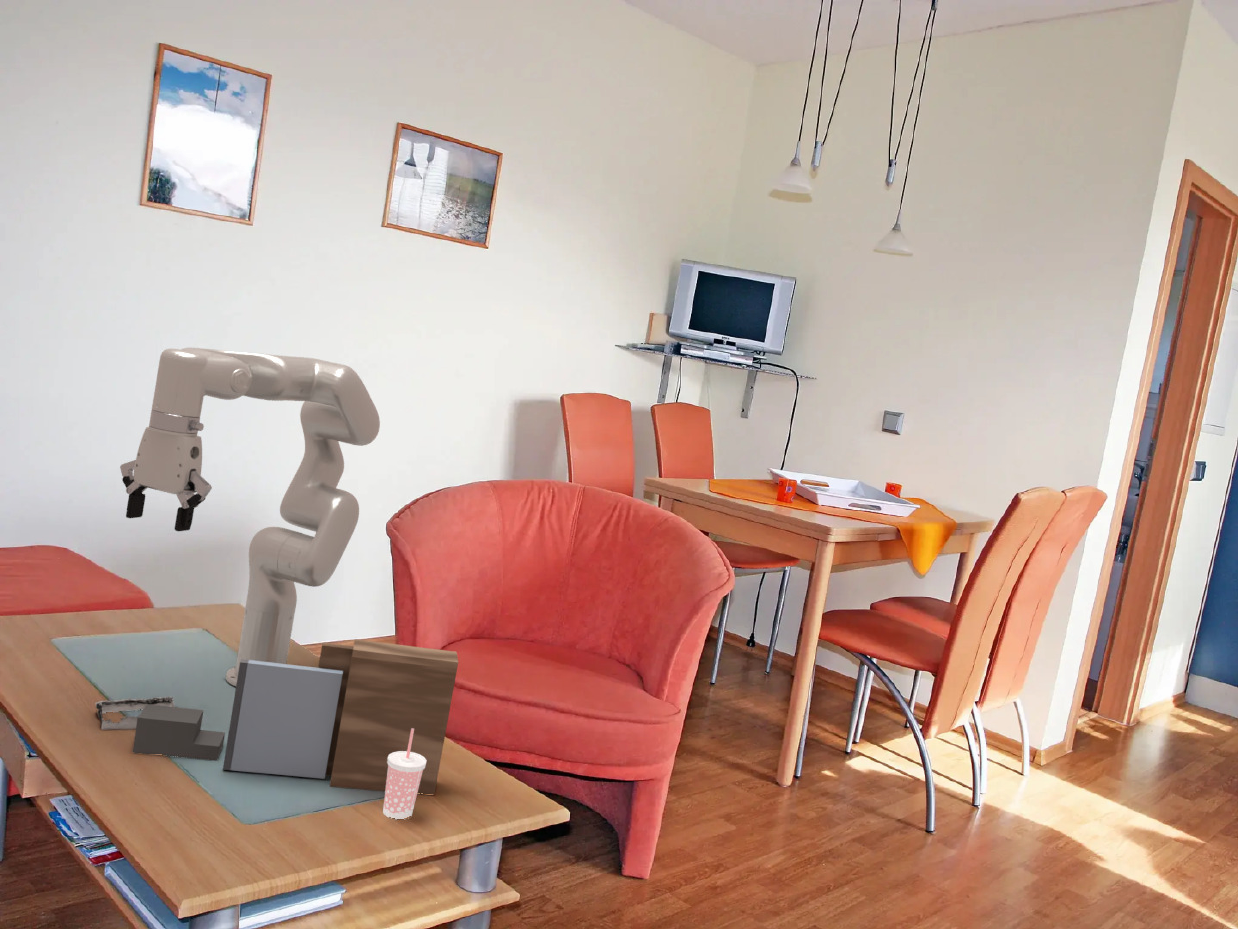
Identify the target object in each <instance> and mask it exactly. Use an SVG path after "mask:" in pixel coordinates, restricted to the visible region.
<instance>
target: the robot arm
mask: <svg viewBox="0 0 1238 929" xmlns="http://www.w3.org/2000/svg"><path fill="white" fill-rule="evenodd" d="M158 361H159V362H158V368H157V374H156V381H155V387H154V392H153V398H152V404H151V412H150V419H149V424H148V426H147V427H145V429H144V431H143V434H142V437H141V439H140V442H139V445H138V450H137V453H136V458H135V459H134V460H132V461H127V462H125V463H122V464H120V467H119V468H120V473H121V476H122V478H121V480H122V482H123V485H124V486H125V493H126V494H128V500H127V505H126V506H127V507H126V513H125V517H126V518H127V519H135V518H142V517H143V515H144V508H145V502H146V494H145V493H144V491H146V490H147V489H153V490H155V491H160V492H162V493H168V494H171V495H176V497H177V500H178V501H179V503H180V506H181V507H180V506H179V507H178V508H177V511H176V517H175V524H174V530H175V531H176V532H186V531H190V530H191V526H192V524H193V518H194V512H195V508H198V507H199V505H200V504H201V503H203V502H204V501H205V500H206V497H207V496H208V495H209V493H211V490H212V488H213V487H212V485H211V484H210V483H209V482H208V481H206V479H205V478H204V477H202V468H203V467H202V466H203V442H202V441H203V440H202V436H200V435H198V434H199V432H202V431H203V430H204V427H205V425H204V423H202V422H200V421H201V415H202V409H203V403H204V397H205V396H208V397H210V398H214V399H215V398H216V399H220V400H224V401H225V400H226V401H231V400H236V399H239V398H241V397H243V396H244V397H247V398H252V399H257V400H263V401H272V402H273V401H275V402H276V401H277V402H279V401H280V402H281V401H282V402H283V401H290V402H292V401H295V402H297V401H298V402H302V405H301V407H300V408H301V409H300V413H299V416H300V418H299V419H300V423H301V428H302V432H303V438H304V454H303V458H302V459H301V462H300V465H299V467H298V469H297V470H296V472H295V474H294V476H293V478H292V480H291V482H290V483H289V486H288V487H287V490H286V492H285V494H283V497H282V500H281V503H280V506H279V514H280V516H281V518H282V519H283V520H284V521H285V522H287V523H288V524H290V525H292V526H295V527H298V528H302V529H303V530H309V531H312V532H315V534H314V536H313V535H309V534H305V533H302V532H299V531H295V530H292V529H288V528H284V527H280V526H268V527H265V528H262V529H260V530H258V531H257V532H256V534H254V536H253V537H252V539H251V540H250V544H249V549H248V563H249V564H248V570H249V572H248V574H249V578H248V579H249V580H248V589H247V596H246V601H245V609H244V613H243V614H244V616H243V621H242V626H241V633H240V639H239V644H238V651H237V658H236V662H235V664H236V665H235V666H234V667H232V668H230V669H228V670H227V672H226V674H225V680H226V682H228V683H229V684H230V685H232V686H233V687H236V684H237V678H238V672H239V666H240V661H241V659H245V660H254V661H263V662H271V663H280V664H287V662H288V657H289V656H288V655H289V651H290V650H289V649H290V643H291V637H292V631H293V626H294V620H295V619H294V618H295V614H296V607H297V601H298V599H297V598H298V597H297V588H296V585H295V583H297V584H300V585H303V586H308V587H315V588H317V587H321V586H323V585H324V584H326V583H327V582H328V581H329V580H330V579H331V578H332V576H333V574H334V573H335V570H336V569H337V567H338V565H339V563H340V561H341V559H342V556H343V554H344V553H345V551H346V549H347V547H348V544H349V542H350V540H351V539H352V536H353V534H354V532H355V529H356V527H357V524H358V522H359V517H360V516H359V515H360V506H359V504H360V503H359V501H358V500H357V498H356V497H355V496H354V494H352V493H350V492H349V491H346V490H344V489H341V488H337V487H338V485H339V483H340V480H341V478H342V475H343V473H344V469H345V461H344V460H345V459H344V456H343V452H342V448H341V446H340V443H345V444H349V445H352V446H353V445H354V446H359V447H360V446H361V447H362V446H367V445H369V444H371V443H372V442H374V441H375V440H376V438H377V436H378V435H379V432H380V427H381V426H380V425H381V421H380V416H379V413H378V410H377V408H376V405H375V403H374V401H373V400H372V398H371V395H370V393H369V391H368V389H367V387H366V386H365V384H364V382H363V380H362V379H361V378H360V376H359V375H358V373H357V372H356V371H355V370H354V369H353V368H351V367H350V366H349V365H345V364H341V363H336V362H330V361H327V360H323V359H319V358H312V357H304V356H303V357H302V356H287V355H277V354H267V353H257V352H243V351H241V352H240V351H230V350H222V349H214V348H213V349H212V348H201V347H185V348H181V349H179V348H166V349H164V350H163V351H162V352H161V353H160V357H159V360H158Z"/></svg>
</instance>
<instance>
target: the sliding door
mask: <svg viewBox="0 0 1238 929" xmlns="http://www.w3.org/2000/svg"><path fill="white" fill-rule="evenodd" d="M342 675H343V671H340V670H332V669H323V668H318V667H315V666H314V667H312V666H304V665H295V664H287V663H286V664H280V663H271V662H263V661H254V660H245V659H241V661H240V666H239V672H238V678H237V684H236V686H235V690H234V691H235V692H234V698H233V704H232V709H231V710H232V711H231V715H230V723H229V727H228V735H227V740H226V741H227V742H226V748H225V752H224V753H225V754H224V760H223V766H222V770H223V771H224V770H226V771H235V772H236V771H237V772H245V773H246V772H247V773H256V774H268V775H281V776H290V777H292V776H293V777H299V778H300V777H302V778H310V779H311V778H313V779H326V775H325V773H326V768H327V762H328V756H329V750H330V744H331V739H332V733H333V727H334V721H335V715H336V709H337V704H338V698H339V692H340V686H341V680H342Z"/></svg>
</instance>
